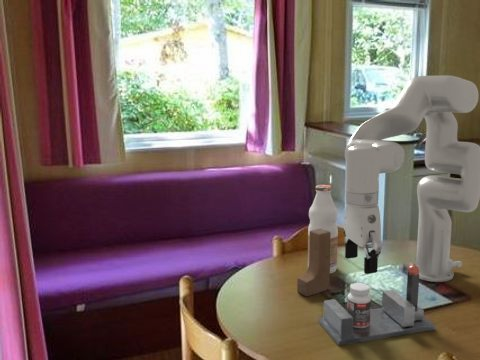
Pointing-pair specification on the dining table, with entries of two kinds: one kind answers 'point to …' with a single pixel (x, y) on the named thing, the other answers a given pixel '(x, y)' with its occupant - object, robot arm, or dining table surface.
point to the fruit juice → (325, 220)
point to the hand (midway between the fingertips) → (360, 264)
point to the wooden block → (316, 264)
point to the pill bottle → (359, 305)
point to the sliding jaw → (404, 301)
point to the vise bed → (379, 327)
